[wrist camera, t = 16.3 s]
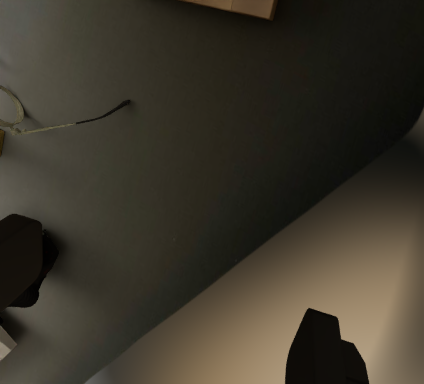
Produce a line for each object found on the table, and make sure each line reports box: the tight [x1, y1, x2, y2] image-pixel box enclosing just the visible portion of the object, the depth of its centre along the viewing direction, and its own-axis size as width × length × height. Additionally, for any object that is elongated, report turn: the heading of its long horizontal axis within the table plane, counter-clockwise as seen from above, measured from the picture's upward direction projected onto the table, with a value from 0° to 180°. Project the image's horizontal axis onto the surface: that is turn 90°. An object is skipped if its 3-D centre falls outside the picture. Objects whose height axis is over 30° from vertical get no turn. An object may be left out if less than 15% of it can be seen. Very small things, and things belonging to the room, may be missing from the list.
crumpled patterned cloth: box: [0, 230, 59, 324], centre depth 47 cm, size 10×15×14 cm
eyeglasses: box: [0, 85, 130, 136], centre depth 37 cm, size 17×15×5 cm
